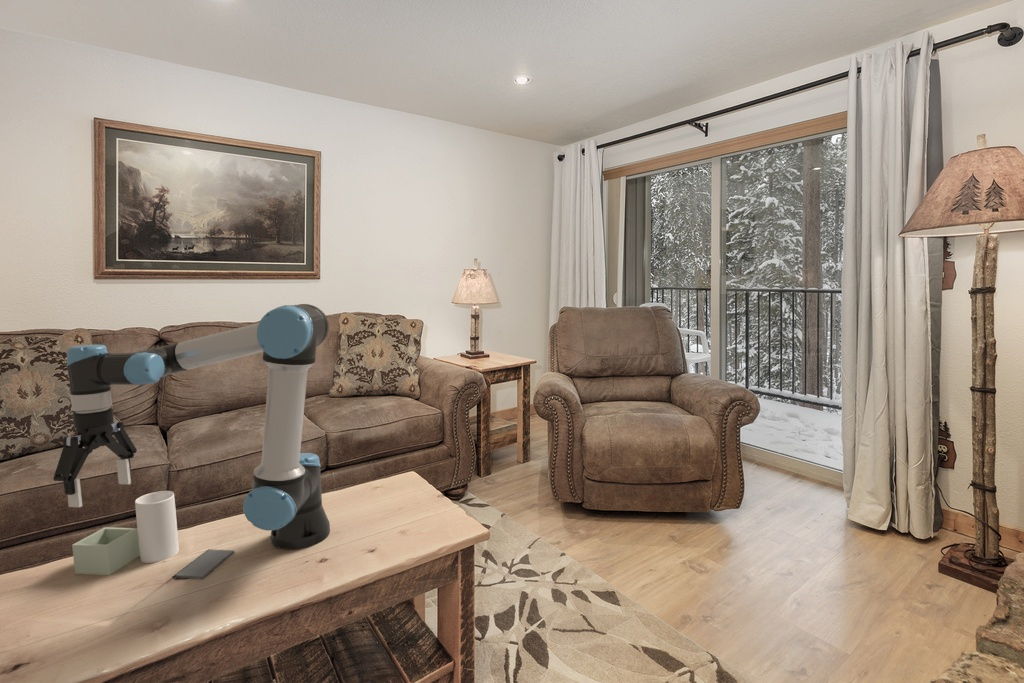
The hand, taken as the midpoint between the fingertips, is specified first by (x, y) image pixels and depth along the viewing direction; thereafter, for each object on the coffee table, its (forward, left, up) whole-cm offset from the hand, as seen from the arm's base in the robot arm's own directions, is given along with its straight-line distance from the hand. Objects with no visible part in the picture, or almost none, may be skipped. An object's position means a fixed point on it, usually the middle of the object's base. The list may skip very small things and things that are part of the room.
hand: (101, 494), depth 126 cm
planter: (0, 0, -19) cm, 19 cm away
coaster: (-21, -3, -19) cm, 28 cm away
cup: (-9, -5, -19) cm, 22 cm away
